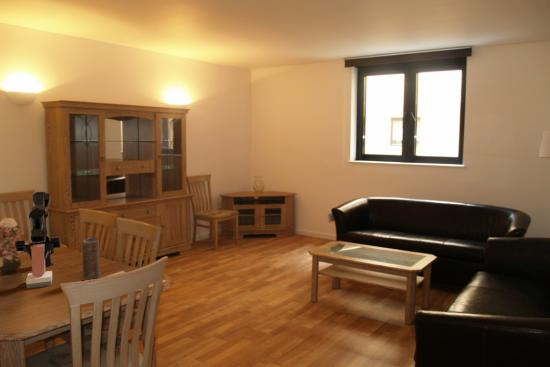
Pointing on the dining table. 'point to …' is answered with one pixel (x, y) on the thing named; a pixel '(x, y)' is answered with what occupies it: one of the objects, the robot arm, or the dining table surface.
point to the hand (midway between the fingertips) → (38, 259)
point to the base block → (39, 280)
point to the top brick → (38, 259)
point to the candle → (91, 258)
